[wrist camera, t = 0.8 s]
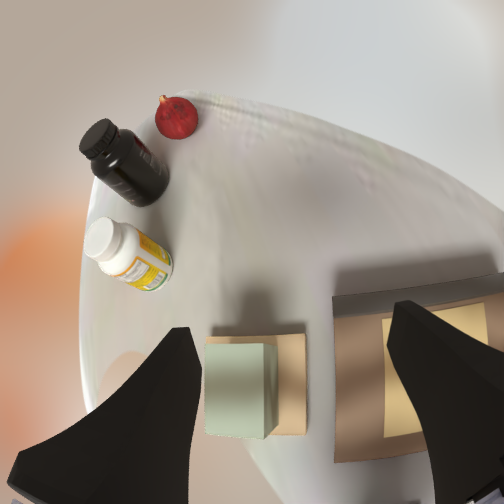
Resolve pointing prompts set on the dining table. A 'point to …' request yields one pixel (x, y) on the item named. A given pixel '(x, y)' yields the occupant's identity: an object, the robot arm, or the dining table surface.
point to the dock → (381, 367)
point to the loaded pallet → (287, 377)
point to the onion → (176, 117)
